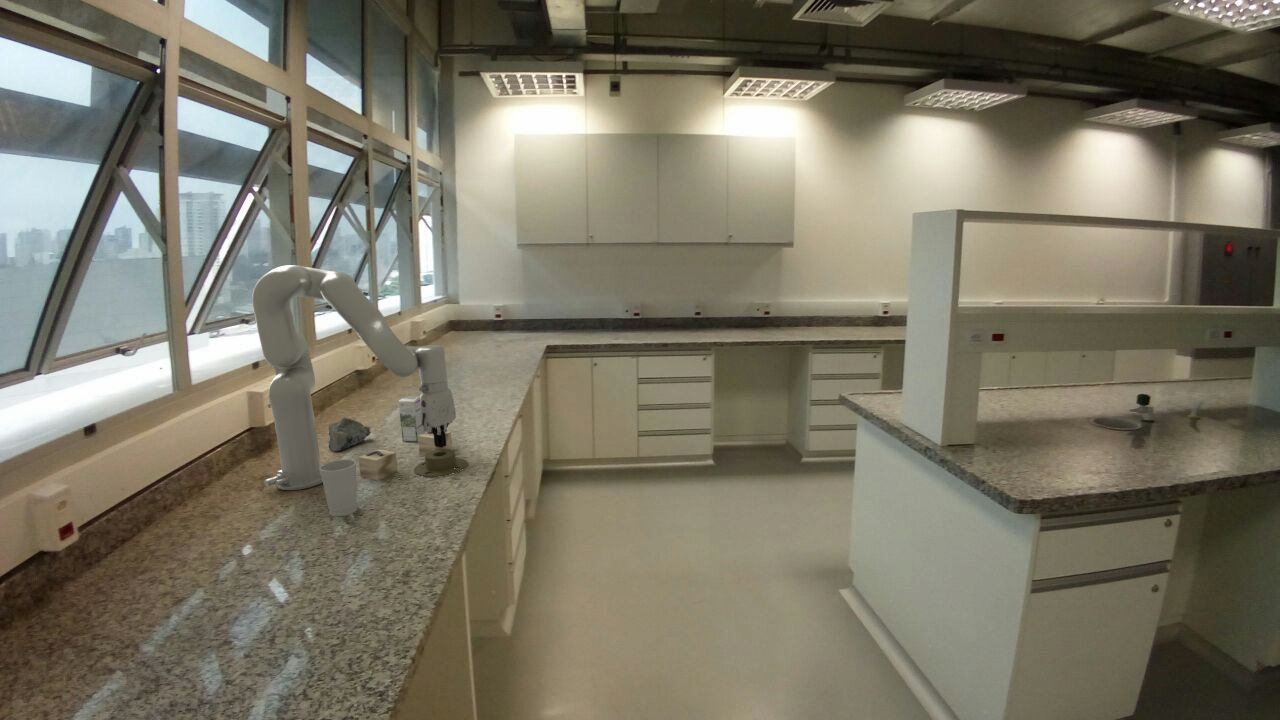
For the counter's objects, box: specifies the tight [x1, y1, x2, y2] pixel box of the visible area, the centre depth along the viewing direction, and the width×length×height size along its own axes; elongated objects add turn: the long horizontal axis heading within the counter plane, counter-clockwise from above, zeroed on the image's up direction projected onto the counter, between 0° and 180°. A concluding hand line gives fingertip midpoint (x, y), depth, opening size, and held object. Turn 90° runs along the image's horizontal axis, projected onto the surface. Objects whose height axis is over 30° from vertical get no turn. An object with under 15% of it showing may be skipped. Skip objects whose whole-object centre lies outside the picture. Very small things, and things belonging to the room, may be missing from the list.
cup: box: [320, 458, 358, 517], centre depth 145 cm, size 8×8×12 cm
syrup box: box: [398, 396, 426, 443], centre depth 199 cm, size 6×6×14 cm
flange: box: [413, 449, 468, 478], centre depth 174 cm, size 5×15×15 cm
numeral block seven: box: [358, 448, 399, 481], centre depth 169 cm, size 7×7×6 cm
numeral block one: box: [417, 430, 453, 455], centre depth 187 cm, size 7×7×6 cm
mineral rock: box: [328, 417, 372, 452], centre depth 194 cm, size 13×11×10 cm
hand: (440, 445), depth 177 cm, fingers closed
